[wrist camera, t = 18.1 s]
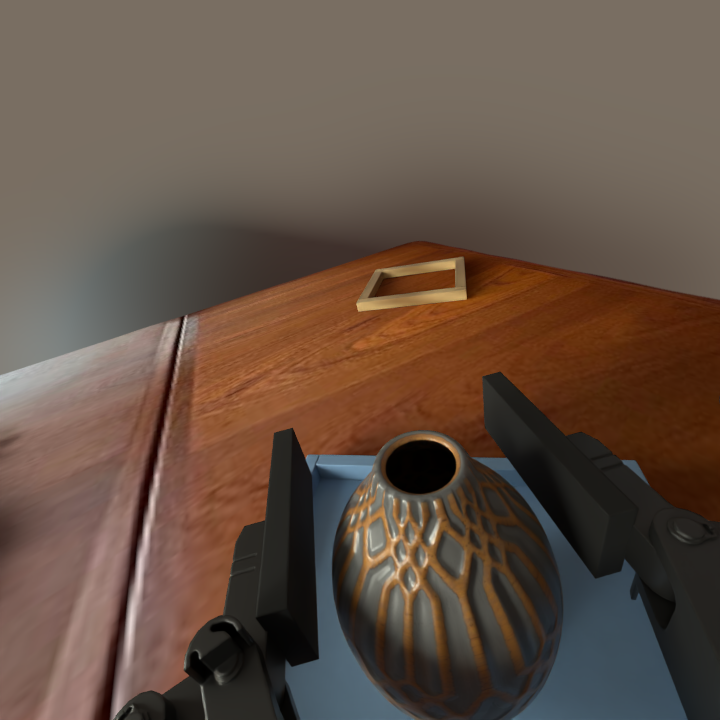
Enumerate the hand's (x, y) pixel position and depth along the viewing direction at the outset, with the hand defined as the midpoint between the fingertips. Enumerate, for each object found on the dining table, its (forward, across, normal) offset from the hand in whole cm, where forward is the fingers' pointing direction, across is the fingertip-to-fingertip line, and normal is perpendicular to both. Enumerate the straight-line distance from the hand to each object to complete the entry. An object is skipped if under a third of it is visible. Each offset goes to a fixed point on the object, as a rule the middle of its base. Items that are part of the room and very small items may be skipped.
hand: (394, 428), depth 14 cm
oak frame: (+33, +10, -6) cm, 35 cm away
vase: (-5, 0, -6) cm, 8 cm away
